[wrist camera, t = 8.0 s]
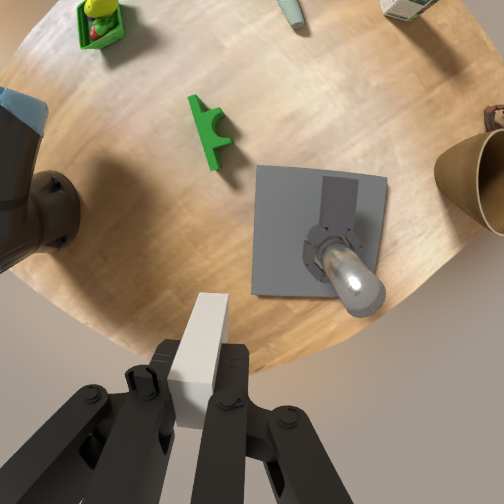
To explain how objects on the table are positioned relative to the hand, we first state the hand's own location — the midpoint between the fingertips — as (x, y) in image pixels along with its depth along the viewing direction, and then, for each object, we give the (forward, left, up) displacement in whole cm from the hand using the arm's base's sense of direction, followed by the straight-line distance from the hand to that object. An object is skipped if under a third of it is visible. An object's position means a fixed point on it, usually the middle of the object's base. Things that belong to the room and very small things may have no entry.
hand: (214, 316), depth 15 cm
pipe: (+12, -3, -28) cm, 31 cm away
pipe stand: (+12, -3, -30) cm, 33 cm away
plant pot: (+36, +10, -31) cm, 48 cm away
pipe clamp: (-4, +12, -31) cm, 33 cm away
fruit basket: (-24, +34, -31) cm, 52 cm away
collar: (+12, 0, -22) cm, 25 cm away
